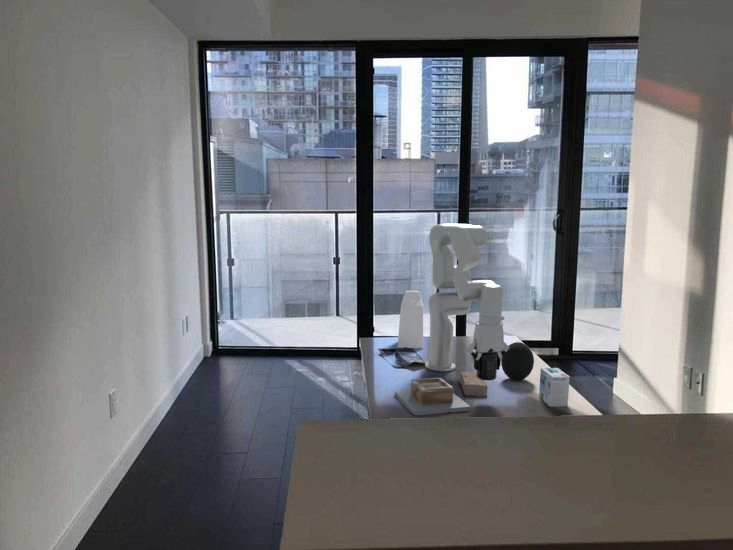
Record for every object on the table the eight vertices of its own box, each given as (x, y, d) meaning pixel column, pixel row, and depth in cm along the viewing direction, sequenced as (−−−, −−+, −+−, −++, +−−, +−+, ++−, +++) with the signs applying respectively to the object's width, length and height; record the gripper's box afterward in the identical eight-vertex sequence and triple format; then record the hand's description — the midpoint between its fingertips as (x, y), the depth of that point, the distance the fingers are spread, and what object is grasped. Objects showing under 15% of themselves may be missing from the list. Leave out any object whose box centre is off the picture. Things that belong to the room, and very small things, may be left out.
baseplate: (394, 395, 214) (394, 391, 214) (446, 391, 220) (446, 387, 220) (414, 415, 195) (414, 411, 195) (470, 410, 201) (470, 406, 201)
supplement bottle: (497, 376, 213) (499, 343, 211) (494, 382, 207) (497, 348, 205) (477, 373, 215) (479, 341, 213) (474, 379, 209) (476, 346, 207)
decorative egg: (496, 375, 241) (498, 338, 239) (526, 374, 242) (528, 338, 240) (506, 384, 229) (508, 346, 227) (537, 384, 230) (539, 346, 228)
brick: (487, 397, 216) (488, 384, 215) (464, 396, 216) (465, 383, 216) (481, 383, 232) (482, 371, 232) (459, 382, 233) (460, 370, 232)
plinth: (410, 394, 211) (411, 379, 210) (439, 392, 214) (440, 377, 213) (422, 405, 200) (422, 389, 200) (452, 402, 204) (453, 387, 203)
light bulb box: (538, 396, 217) (540, 367, 215) (556, 396, 217) (558, 367, 216) (549, 406, 206) (551, 376, 205) (568, 406, 207) (570, 376, 205)
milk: (423, 342, 292) (425, 289, 288) (423, 348, 280) (425, 293, 277) (398, 341, 293) (400, 288, 289) (397, 347, 281) (399, 292, 278)
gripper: (507, 316, 213) (503, 364, 216) (462, 318, 208) (459, 367, 211) (517, 321, 206) (514, 371, 209) (471, 323, 201) (468, 374, 204)
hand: (486, 369), depth 210 cm, fingers closed on supplement bottle, 6 cm apart
